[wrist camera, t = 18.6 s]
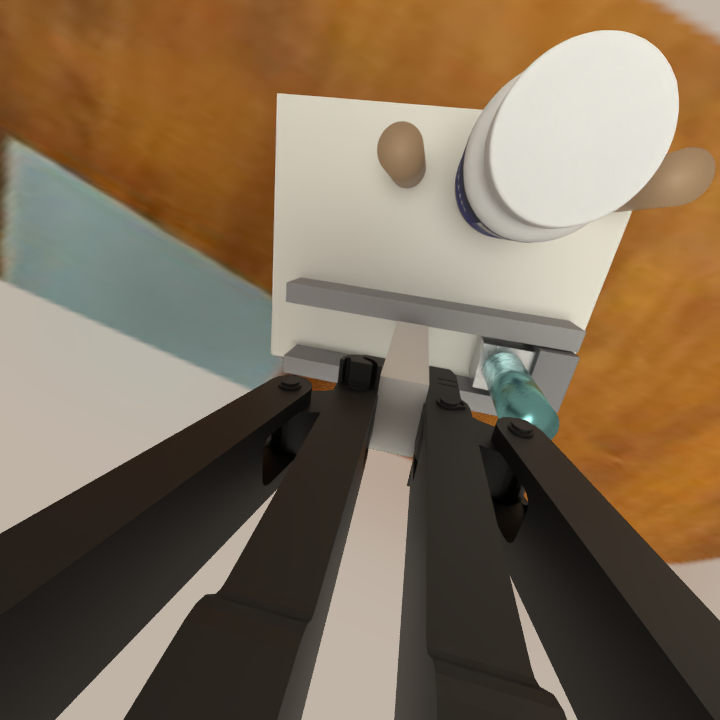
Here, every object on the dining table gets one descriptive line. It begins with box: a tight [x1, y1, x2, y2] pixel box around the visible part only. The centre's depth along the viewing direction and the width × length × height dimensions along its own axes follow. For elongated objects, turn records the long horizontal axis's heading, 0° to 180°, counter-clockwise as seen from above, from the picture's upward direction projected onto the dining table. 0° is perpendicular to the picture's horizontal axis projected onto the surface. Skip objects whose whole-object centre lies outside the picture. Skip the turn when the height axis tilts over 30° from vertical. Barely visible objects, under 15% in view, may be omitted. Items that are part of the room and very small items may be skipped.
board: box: [271, 93, 715, 416], centre depth 19 cm, size 20×16×6 cm
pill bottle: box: [455, 30, 679, 243], centre depth 14 cm, size 6×6×10 cm
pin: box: [469, 335, 559, 440], centre depth 18 cm, size 3×3×8 cm
